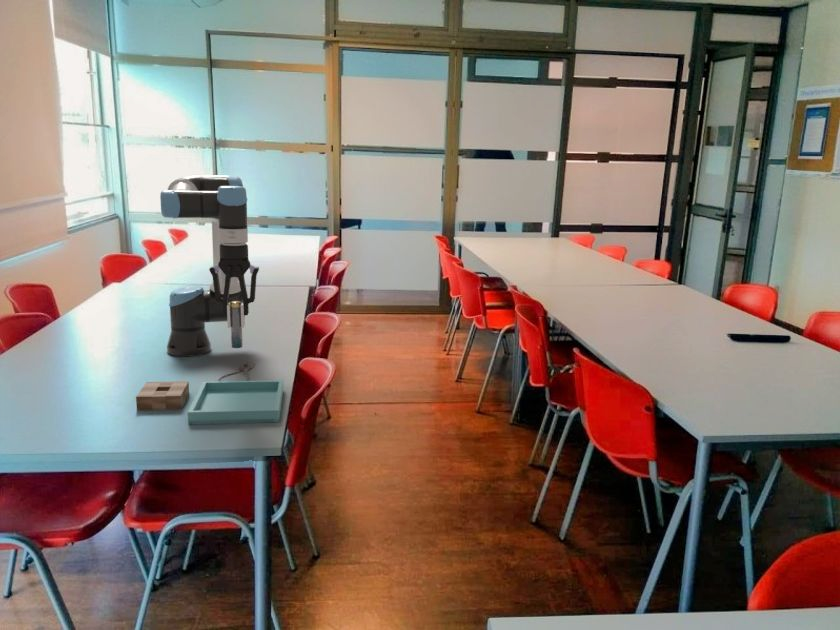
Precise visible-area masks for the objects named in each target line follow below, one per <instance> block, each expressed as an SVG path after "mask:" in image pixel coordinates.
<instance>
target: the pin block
mask: <svg viewBox="0 0 840 630" xmlns="http://www.w3.org/2000/svg"><path fill="white" fill-rule="evenodd" d="M189 395H190V381H188V380H187V381H186V380H185V381H147V382H145V384H144V385H143V387H142V388H141V389H140V391H139V392H138V393H137V395H136V396H135V400H136V401H135V402H136V411H145V410H146V411H148V410H149V411H151V410H153V411H156V410H161V411H162V410H182V408H183V407H184V404H185V402H186V401H187V399H188V398H189Z"/></svg>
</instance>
